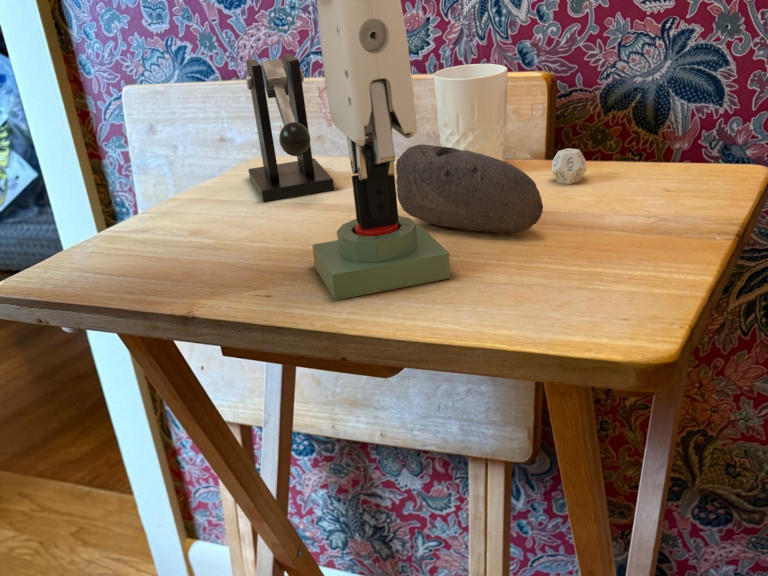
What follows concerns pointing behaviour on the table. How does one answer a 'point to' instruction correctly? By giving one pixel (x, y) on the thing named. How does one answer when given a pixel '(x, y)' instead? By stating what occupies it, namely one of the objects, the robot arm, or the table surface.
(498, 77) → the white cup
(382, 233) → the button
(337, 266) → the button block
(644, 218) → the table surface
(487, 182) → the perforated stone tool
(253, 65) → the bracket
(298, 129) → the lever
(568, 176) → the game die
